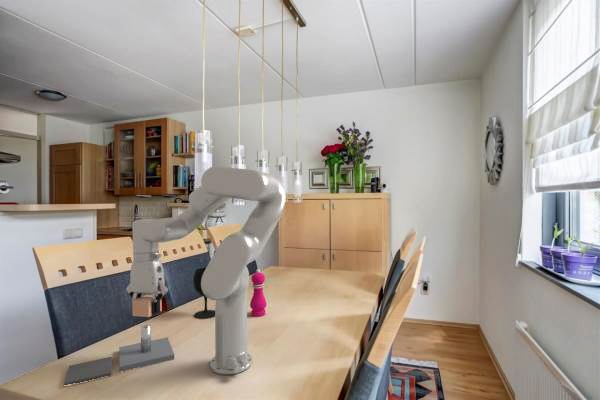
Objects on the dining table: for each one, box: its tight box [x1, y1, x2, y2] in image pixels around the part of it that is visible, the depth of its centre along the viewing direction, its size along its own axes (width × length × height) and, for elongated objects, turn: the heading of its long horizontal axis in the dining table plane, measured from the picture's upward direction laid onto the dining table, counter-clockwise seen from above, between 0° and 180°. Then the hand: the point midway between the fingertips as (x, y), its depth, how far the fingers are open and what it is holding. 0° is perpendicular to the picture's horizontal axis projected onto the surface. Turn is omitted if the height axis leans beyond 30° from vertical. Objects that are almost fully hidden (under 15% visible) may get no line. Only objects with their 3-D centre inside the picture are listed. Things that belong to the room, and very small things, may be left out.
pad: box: [63, 356, 113, 386], centre depth 92 cm, size 11×11×1 cm
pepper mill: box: [249, 268, 267, 318], centre depth 139 cm, size 7×7×20 cm
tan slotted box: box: [131, 294, 163, 318], centre depth 102 cm, size 6×6×5 cm
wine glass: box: [192, 267, 215, 320], centre depth 139 cm, size 10×10×20 cm
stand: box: [118, 337, 175, 372], centre depth 102 cm, size 15×15×2 cm
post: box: [140, 323, 152, 353], centre depth 102 cm, size 3×3×8 cm
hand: (147, 312), depth 102 cm, fingers closed on tan slotted box, 5 cm apart
